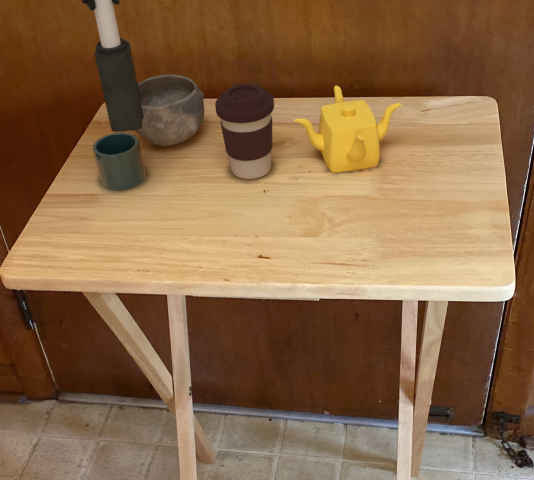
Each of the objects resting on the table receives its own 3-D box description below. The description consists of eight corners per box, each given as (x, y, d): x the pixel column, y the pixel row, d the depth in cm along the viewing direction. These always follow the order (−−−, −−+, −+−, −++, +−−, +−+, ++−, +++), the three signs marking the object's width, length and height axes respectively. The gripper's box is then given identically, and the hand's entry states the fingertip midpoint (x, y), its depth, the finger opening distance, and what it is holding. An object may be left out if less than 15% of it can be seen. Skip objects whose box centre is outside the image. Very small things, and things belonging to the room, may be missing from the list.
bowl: (126, 157, 152) (115, 109, 146) (146, 116, 164) (136, 69, 157) (199, 158, 150) (191, 108, 144) (214, 116, 161) (207, 68, 155)
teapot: (362, 185, 140) (362, 135, 133) (294, 164, 146) (291, 115, 140) (403, 146, 148) (405, 97, 141) (336, 128, 155) (335, 80, 148)
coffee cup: (268, 149, 151) (262, 73, 140) (286, 176, 144) (281, 98, 133) (217, 162, 149) (207, 86, 139) (233, 189, 142) (223, 111, 132)
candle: (113, 117, 134) (79, -40, 118) (144, 114, 134) (114, -43, 118) (110, 132, 131) (74, -27, 114) (142, 129, 131) (110, -31, 114)
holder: (109, 195, 143) (100, 161, 139) (95, 174, 149) (87, 140, 144) (151, 181, 146) (144, 147, 141) (137, 161, 151) (129, 128, 146)
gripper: (124, -152, 112) (147, -16, 124) (6, -130, 107) (42, 8, 120) (141, -141, 107) (163, 0, 119) (18, -118, 102) (54, 26, 115)
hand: (102, 3), depth 119 cm, fingers closed on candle, 3 cm apart
